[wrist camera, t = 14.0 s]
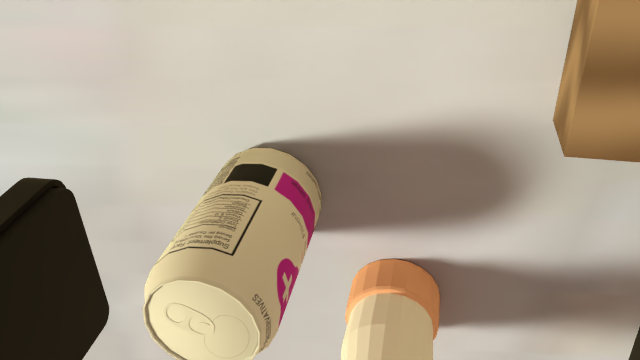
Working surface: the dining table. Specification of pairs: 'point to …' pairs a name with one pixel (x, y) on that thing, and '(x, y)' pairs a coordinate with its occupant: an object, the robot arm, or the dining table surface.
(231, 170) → the supplement can
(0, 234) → the robot arm
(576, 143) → the walnut block
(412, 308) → the pepper shaker
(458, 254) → the dining table surface
